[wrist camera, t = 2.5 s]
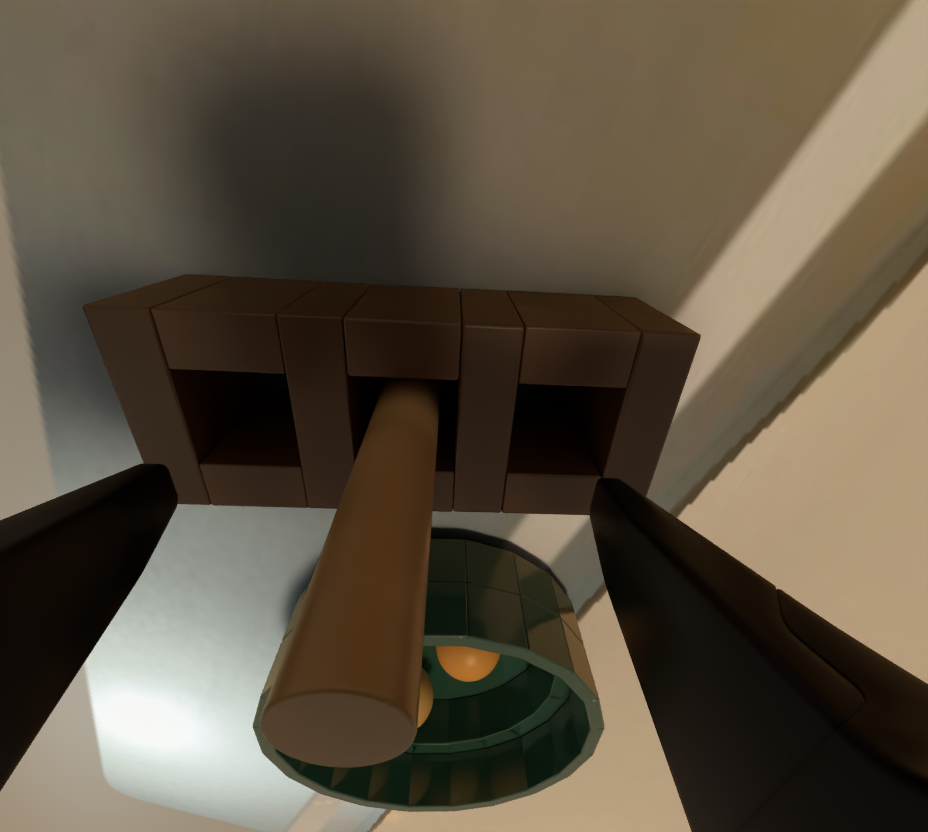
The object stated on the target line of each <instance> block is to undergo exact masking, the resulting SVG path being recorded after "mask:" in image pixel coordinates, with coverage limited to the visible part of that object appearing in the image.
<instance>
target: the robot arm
mask: <svg viewBox="0 0 928 832" xmlns="http://www.w3.org/2000/svg"><path fill="white" fill-rule="evenodd" d="M177 504H178V495H177V492H176V489H175V486H174V483H173V480H172V478H171V475H170V472H169V470H168V468H167V467H166V466H165V465H163V464H148V463H144V464H139V465H136V466H134V467H131V468H129V469H126V470H124V471H121V472H119V473H117V474H114V475H112V476H109V477H107V478H104V479H102V480H99V481H97V482H94V483H92V484H89V485H87V486H84V487H82V488H79V489H77V490H74V491H72V492H70V493H67V494H65V495H62V496H60V497H57V498H55V499H52V500H50V501H47V502H45V503H42V504H40V505H37V506H35V507H32V508H30V509H28V510H25V511H23V512H20V513H18V514H15V515H13V516H10V517H8V518H5V519H3V520H0V791H1V789H2V788H3V786H4V785H5V783H6V782H7V780H8V779H9V777H10V775H11V774H12V773H13V771H14V769H15V768H16V766H17V765H18V763H19V762H20V760H21V759H22V757H23V756H24V754H25V753H26V751H27V749H28V748H29V746H30V745H31V743H32V742H33V740H34V739H35V737H36V736H37V734H38V733H39V731H40V730H41V728H42V726H43V725H44V723H45V722H46V720H47V719H48V717H49V716H50V714H51V713H52V711H53V710H54V708H55V706H56V705H57V703H58V702H59V700H60V699H61V697H62V696H63V694H64V693H65V691H66V690H67V688H68V687H69V685H70V683H71V682H72V680H73V679H74V677H75V676H76V674H77V673H78V671H79V670H80V668H81V667H82V665H83V664H84V662H85V661H86V659H87V657H88V656H89V654H90V653H91V651H92V650H93V648H94V647H95V645H96V644H97V642H98V641H99V639H100V638H101V636H102V634H103V633H104V631H105V630H106V628H107V627H108V625H109V624H110V622H111V621H112V619H113V618H114V616H115V615H116V613H117V611H118V610H119V608H120V607H121V605H122V604H123V602H124V601H125V599H126V598H127V596H128V595H129V593H130V591H131V590H132V588H133V587H134V585H135V584H136V582H137V580H138V579H139V577H140V576H141V574H142V572H143V570H144V569H145V567H146V565H147V563H148V561H149V559H150V557H151V556H152V554H153V552H154V550H155V548H156V546H157V544H158V542H159V540H160V538H161V536H162V534H163V532H164V530H165V529H166V527H167V525H168V523H169V521H170V519H171V517H172V515H173V513H174V511H175V509H176V507H177ZM590 520H591V524H592V528H593V533H594V537H595V542H596V546H597V551H598V555H599V559H600V564H601V568H602V572H603V576H604V580H605V584H606V587H607V590H608V593H609V596H610V599H611V602H612V605H613V608H614V611H615V613H616V616H617V619H618V622H619V625H620V628H621V631H622V633H623V636H624V639H625V642H626V645H627V648H628V651H629V653H630V656H631V659H632V662H633V665H634V668H635V671H636V674H637V676H638V679H639V682H640V685H641V688H642V691H643V694H644V696H645V699H646V702H647V705H648V708H649V711H650V714H651V716H652V719H653V722H654V725H655V728H656V731H657V734H658V737H659V739H660V742H661V745H662V748H663V751H664V754H665V757H666V759H667V762H668V765H669V768H670V771H671V774H672V777H673V780H674V782H675V785H676V788H677V791H678V794H679V797H680V800H681V802H682V805H683V808H684V811H685V814H686V817H687V820H688V822H689V825H690V828H691V831H692V832H928V684H927V683H925V682H924V681H922V680H920V679H919V678H917V677H915V676H914V675H912V674H911V673H909V672H907V671H906V670H904V669H902V668H901V667H899V666H898V665H896V664H894V663H893V662H891V661H889V660H888V659H886V658H885V657H883V656H881V655H880V654H878V653H876V652H875V651H873V650H872V649H870V648H869V647H867V646H865V645H864V644H862V643H861V642H859V641H857V640H856V639H854V638H853V637H851V636H849V635H848V634H846V633H845V632H843V631H842V630H840V629H838V628H837V627H835V626H834V625H832V624H831V623H829V622H828V621H826V620H825V619H823V618H822V617H820V616H819V615H817V614H816V613H814V612H813V611H811V610H810V609H808V608H807V607H805V606H804V605H802V604H801V603H799V602H798V601H797V600H795V599H794V598H792V597H791V596H789V595H788V594H786V593H785V592H784V591H782V590H780V589H777V590H776V587H775V586H774V585H773V584H772V583H770V582H769V581H767V580H766V579H764V578H763V577H761V576H760V575H759V574H757V573H756V572H754V571H753V570H751V569H750V568H748V567H747V566H745V565H744V564H743V563H741V562H740V561H738V560H737V559H735V558H734V557H732V556H731V555H729V554H728V553H727V552H725V551H724V550H722V549H721V548H719V547H718V546H716V545H715V544H713V543H712V542H711V541H709V540H708V539H706V538H705V537H703V536H702V535H700V534H699V533H697V532H696V531H695V530H693V529H692V528H690V527H689V526H687V525H686V524H684V523H683V522H681V521H680V520H679V519H677V518H676V517H674V516H673V515H671V514H670V513H668V512H667V511H665V510H664V509H662V508H661V507H660V506H658V505H657V504H655V503H654V502H652V501H651V500H649V499H648V498H646V497H645V496H644V495H642V494H641V493H639V492H638V491H636V490H635V489H633V488H632V487H630V486H629V485H628V484H626V483H625V482H623V481H622V480H620V479H618V478H600V479H599V480H598V481H597V483H596V487H595V490H594V494H593V498H592V502H591V506H590Z"/></svg>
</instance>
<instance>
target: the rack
mask: <svg viewBox="0 0 928 832" xmlns="http://www.w3.org/2000/svg"><path fill="white" fill-rule="evenodd" d="M83 309H84V312H85V314H86V317H87V319H88V322H89V324H90V327H91V330H92V332H93V335H94V337H95V340H96V342H97V345H98V347H99V350H100V353H101V355H102V358H103V360H104V363H105V365H106V368H107V370H108V373H109V376H110V378H111V381H112V383H113V386H114V388H115V391H116V393H117V396H118V399H119V401H120V404H121V406H122V409H123V411H124V414H125V416H126V419H127V422H128V424H129V427H130V429H131V432H132V434H133V437H134V439H135V442H136V444H137V447H138V450H139V452H140V455H141V457H142V460H143V462H144V463H148V464H163V465H165V466H166V467H167V468H168V470H169V472H170V475H171V478H172V480H173V483H174V486H175V489H176V492H177V495H178V504H195V505H210V504H212V505H223V506H260V507H297V508H307V507H309V508H335V509H338V506H339V503H340V501H341V498H342V495H343V493H344V490H345V487H346V484H347V482H348V479H349V476H350V474H351V471H352V468H353V466H354V463H355V460H356V457H357V455H358V452H359V449H360V447H361V444H362V441H363V439H364V436H365V433H366V430H367V428H368V425H369V422H370V420H371V417H372V414H373V412H374V409H375V406H376V404H377V401H378V395H377V377H389V378H413V379H437V380H456V388H455V408H440V409H439V423H438V437H437V452H436V466H435V481H434V495H433V510H432V511H447V512H451V511H452V509H453V510H454V511H461V512H498V513H499V512H501V510H502V512H503V513H530V514H567V515H590V506H591V502H592V498H593V494H594V490H595V487H596V483H597V481H598V480H599V479H600V478H618V479H620V480H622V481H623V482H625V483H626V484H628V485H629V486H630V487H632V488H633V489H635V490H636V491H638V492H639V493H641V494H642V495H644V496H645V497H646V496H647V493H648V490H649V487H650V484H651V481H652V478H653V475H654V472H655V469H656V467H657V464H658V461H659V458H660V455H661V452H662V449H663V446H664V443H665V440H666V437H667V434H668V431H669V429H670V426H671V423H672V420H673V417H674V414H675V411H676V408H677V405H678V402H679V399H680V396H681V393H682V391H683V388H684V385H685V382H686V379H687V376H688V373H689V370H690V367H691V364H692V361H693V358H694V355H695V353H696V350H697V347H698V344H699V341H700V334H698V333H696V332H695V331H693V330H691V329H690V328H688V327H686V326H684V325H683V324H681V323H679V322H677V321H676V320H674V319H672V318H670V317H669V316H667V315H665V314H663V313H662V312H660V311H658V310H656V309H655V308H653V307H651V306H649V305H648V304H646V303H644V302H643V301H641V300H639V299H637V298H630V297H610V296H594V297H593V296H592V295H576V294H557V293H537V292H518V291H507V292H505V291H494V290H474V289H461V291H460V290H459V289H454V288H434V287H414V286H395V285H371V284H361V283H341V282H324V283H323V282H321V281H302V280H282V279H263V278H243V277H233V278H231V277H222V276H203V275H182V276H179V277H175V278H172V279H169V280H165V281H162V282H159V283H155V284H152V285H149V286H145V287H142V288H139V289H135V290H132V291H129V292H125V293H122V294H119V295H115V296H112V297H109V298H106V299H102V300H99V301H96V302H92V303H89V304H86V305H84V306H83ZM252 372H254V373H278V374H284V373H286V376H287V382H288V388H289V394H290V400H291V402H285V401H258V398H257V393H256V388H255V383H254V379H253V374H252ZM518 382H519V383H520V384H542V385H566V386H575V389H574V394H573V399H572V404H571V409H570V414H569V413H566V412H540V411H514V410H515V403H516V395H517V387H518Z"/></svg>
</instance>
